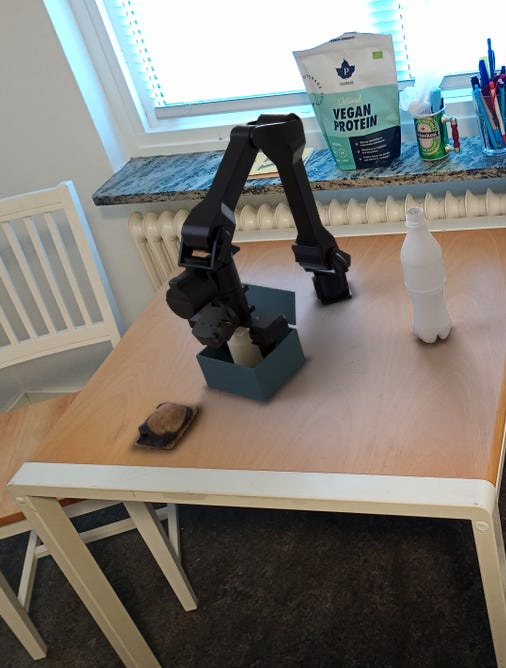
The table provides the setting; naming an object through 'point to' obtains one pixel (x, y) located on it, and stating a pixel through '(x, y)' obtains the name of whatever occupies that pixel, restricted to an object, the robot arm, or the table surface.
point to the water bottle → (424, 278)
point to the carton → (249, 380)
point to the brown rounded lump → (165, 426)
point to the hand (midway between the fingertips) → (250, 359)
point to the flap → (272, 301)
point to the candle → (244, 349)
